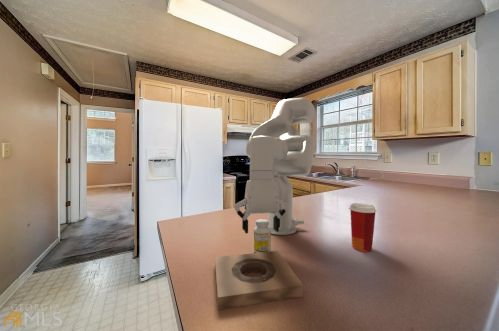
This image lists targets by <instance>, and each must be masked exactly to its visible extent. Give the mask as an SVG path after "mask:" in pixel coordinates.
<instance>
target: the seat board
mask: <svg viewBox="0 0 499 331" xmlns="http://www.w3.org/2000/svg"><path fill="white" fill-rule="evenodd" d="M214 261H215V262H214V267H215V281H216V282H215V285H216V298H217V310H225V309H232V308H238V307H244V306H250V305H251V306H252V305H257V304H263V303H270V302H275V301H281V300H282V301H283V300H288V299H294V298H295V299H296V298H302V297H304V284H303V283H302V282H301V280H300V279H299V278H298V276H297V275H296V274H295V271H293V269H292V268H291V266H290V265H289V264H288V262H287V261H286V260H285V259H284V257H283V256H282V254H281V253H280V252H279V250H271V251H270V252H261V253H256V252H254V253H253V252H252V253H244V254H234V255H224V256H215V257H214ZM247 273H260V274H262V275H261V276H256V277H251V276H246V274H247Z"/></svg>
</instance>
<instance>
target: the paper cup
mask: <svg viewBox="0 0 499 331" xmlns="http://www.w3.org/2000/svg"><path fill="white" fill-rule="evenodd" d="M348 209H349V210H350V230H351V231H350V232H351V233H350V234H351V247H352V248H353V249H354V250H356V251H358V252H363V253H370V252H372V249H373V241H374V240H373V239H374V234H375V233H374V232H375V220H376V213H377V212H378V211H377V209H376V207H375V206H374V205H373V204H369V203H363V202H355V203H351V204H350V205H349V207H348Z"/></svg>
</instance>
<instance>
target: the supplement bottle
mask: <svg viewBox="0 0 499 331" xmlns="http://www.w3.org/2000/svg"><path fill="white" fill-rule="evenodd" d="M268 226H269V219H265V218H262V219H261V218H260V219H256V220H255V227H254V229H253V250H254V253H261V252H270V251H272V250H271V248H272V245H271V244H272V243H271V242H272V241H271V240H272V234H271V229H270V228H269V227H268Z"/></svg>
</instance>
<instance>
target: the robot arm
mask: <svg viewBox="0 0 499 331" xmlns="http://www.w3.org/2000/svg"><path fill="white" fill-rule="evenodd" d="M315 119H316V109H315V106H314V104H313V103H312V102H311V100H310V99H309V98H307V97H305V96H304V97H303V96H302V97H293V98H287V99H285V98H284V99H282V100H280V101H278V103H277V104H276V106H275V109H274V110H273V113H272V115H271V117H270V119H268V120H267V121H265V122H264V123H262V124H260V125H259V126H257V128H255V129H253V131H252V133H251V134H250V136H249V138H248V141H247V142H246V147H245V151H246V155H247V157H248V158H249V180H247V181H246V184H245V192H244V198H243V199H242V200H240V201H238V202H236V203H235V204H233V208H234V210H235V213H236V214H237V215H238V216H239V217H240V218H241V219H242V220H241V221H242V222H241V223H242V225H241V226H242V227H241V228H242V231H244V233H245V234H248V233H249V220H248V218H249V217H250V215H257V214H261V215H262V214H268V221H269V226H268V227H269V228H270V229H271V235H276V236H289V235H292V234H294V233H296V232H297V227H296V226H298V225H299V226H302V225H304V224H305V221H304V219H298V218H293V216H294V215H293V214H294V213H293V202H294V200H293V194H294V193H293V190H294V189H293V185H292V183H291V181H290V179H289V178H288V177H307V176H308V175H310V173H311V170H312V167H313V166H312V165H313V161H314V155H315V154H314V153H315V141H314V139H313V137H312V136H311V135H309V134H300V131H299V130H298V128H296V127H295V126H294V125H299V124H300V125H301V124H311V123H313V122H314V120H315ZM241 207H244V211H243V212H242V211H241V209H240V208H241Z"/></svg>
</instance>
